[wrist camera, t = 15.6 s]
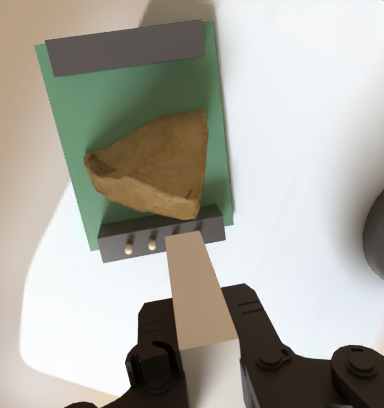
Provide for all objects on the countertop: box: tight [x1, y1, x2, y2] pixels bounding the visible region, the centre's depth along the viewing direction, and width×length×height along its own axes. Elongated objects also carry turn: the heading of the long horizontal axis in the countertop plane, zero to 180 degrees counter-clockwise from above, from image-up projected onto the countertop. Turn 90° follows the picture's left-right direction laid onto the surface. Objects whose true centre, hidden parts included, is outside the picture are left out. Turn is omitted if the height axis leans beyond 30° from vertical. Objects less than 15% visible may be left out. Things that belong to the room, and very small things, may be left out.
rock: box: [83, 108, 209, 220], centre depth 27 cm, size 11×9×10 cm
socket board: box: [35, 20, 234, 263], centre depth 29 cm, size 14×18×5 cm
